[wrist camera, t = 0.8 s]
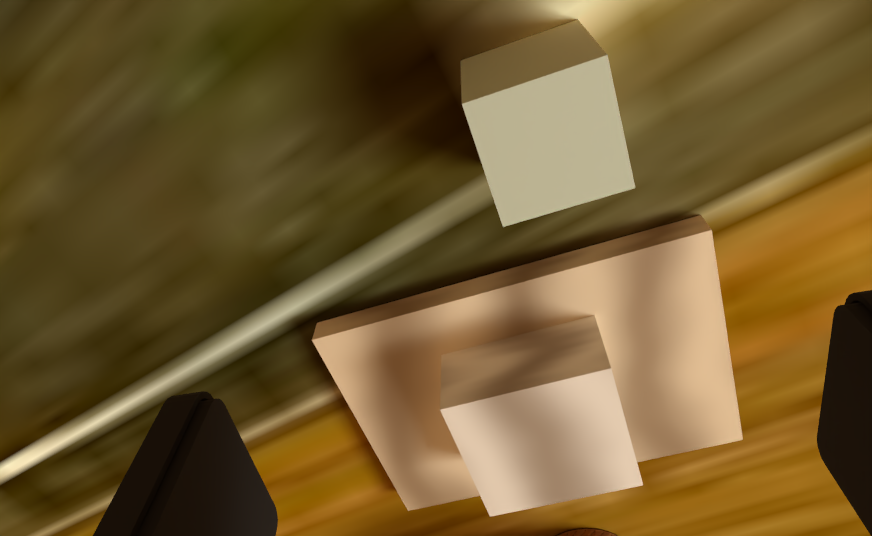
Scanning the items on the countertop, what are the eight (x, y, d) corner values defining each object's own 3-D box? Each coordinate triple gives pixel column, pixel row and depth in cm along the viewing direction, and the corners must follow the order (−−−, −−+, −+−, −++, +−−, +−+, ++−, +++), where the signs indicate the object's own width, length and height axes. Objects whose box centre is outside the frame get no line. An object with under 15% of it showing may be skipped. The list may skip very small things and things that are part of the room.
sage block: (577, 19, 26) (607, 55, 21) (602, 131, 29) (635, 188, 24) (460, 60, 27) (461, 104, 22) (494, 165, 30) (503, 226, 24)
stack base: (700, 214, 31) (745, 277, 26) (733, 420, 37) (772, 498, 33) (317, 322, 34) (295, 393, 30) (409, 491, 41) (403, 570, 37)
